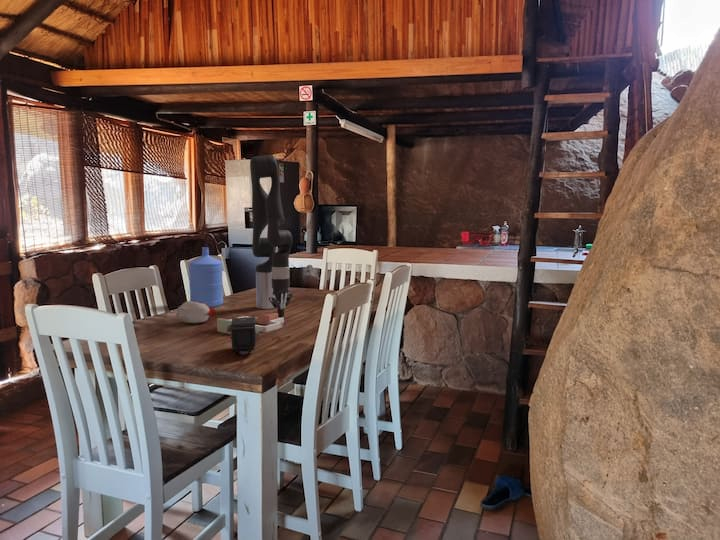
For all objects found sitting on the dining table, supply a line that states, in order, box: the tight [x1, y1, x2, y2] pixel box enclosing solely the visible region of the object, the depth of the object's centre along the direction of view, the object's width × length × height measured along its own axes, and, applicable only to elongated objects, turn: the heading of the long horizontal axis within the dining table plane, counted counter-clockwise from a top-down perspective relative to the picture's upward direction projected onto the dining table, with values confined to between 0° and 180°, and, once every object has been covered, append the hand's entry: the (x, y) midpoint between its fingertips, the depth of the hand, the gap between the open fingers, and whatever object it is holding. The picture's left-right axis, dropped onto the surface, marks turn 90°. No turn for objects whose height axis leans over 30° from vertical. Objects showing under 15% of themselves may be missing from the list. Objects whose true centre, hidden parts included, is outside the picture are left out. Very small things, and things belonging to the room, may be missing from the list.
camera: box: [227, 316, 261, 355], centre depth 181 cm, size 11×11×15 cm
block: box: [257, 311, 279, 326], centre depth 226 cm, size 6×6×4 cm
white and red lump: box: [175, 300, 216, 324], centre depth 226 cm, size 9×11×15 cm
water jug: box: [188, 246, 224, 308], centre depth 263 cm, size 16×16×28 cm
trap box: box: [216, 315, 285, 335], centre depth 218 cm, size 27×22×5 cm
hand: (280, 317), depth 232 cm, fingers closed
